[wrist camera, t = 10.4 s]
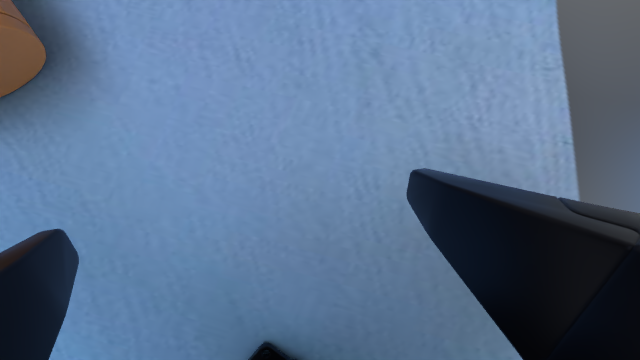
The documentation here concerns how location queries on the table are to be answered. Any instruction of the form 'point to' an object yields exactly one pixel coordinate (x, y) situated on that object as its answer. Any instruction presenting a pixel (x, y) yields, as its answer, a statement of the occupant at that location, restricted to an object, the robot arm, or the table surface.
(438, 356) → the table surface
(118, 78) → the table surface
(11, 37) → the jar
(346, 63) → the table surface
